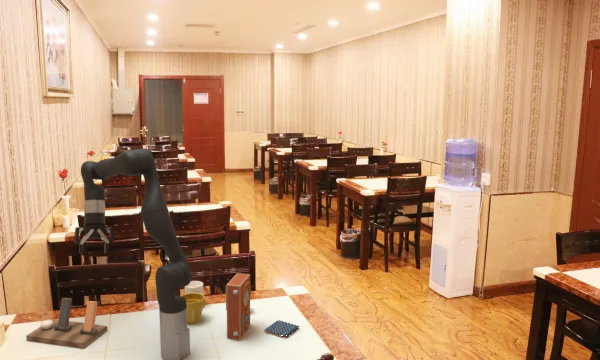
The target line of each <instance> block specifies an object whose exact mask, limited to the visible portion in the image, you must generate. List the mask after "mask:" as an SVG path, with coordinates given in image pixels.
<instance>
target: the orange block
mask: <svg viewBox="0 0 600 360" xmlns="http://www.w3.org/2000/svg"><path fill="white" fill-rule="evenodd" d="M97 310H98V301H95V300H94V301H92V300H89V301H87V302H86V309H85V317H84V322H83V323H84V330H83V332H84V333H89V334H91V331H92V330H94V326H95V325H96V317H97Z"/></svg>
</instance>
